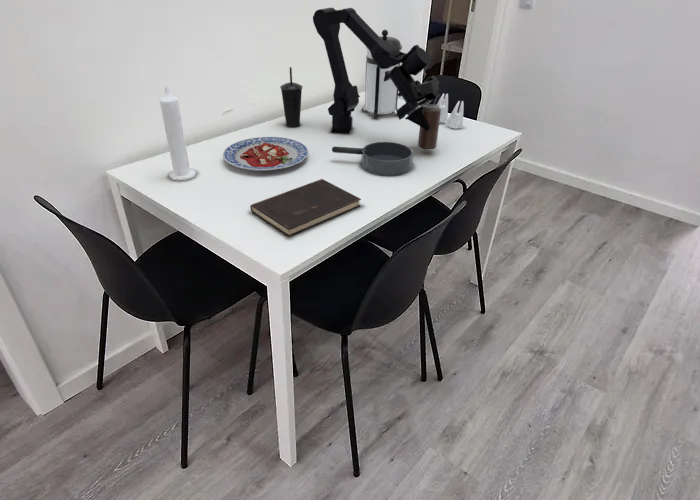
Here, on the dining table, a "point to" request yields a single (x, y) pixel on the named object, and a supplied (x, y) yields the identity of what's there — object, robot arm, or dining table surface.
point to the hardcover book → (305, 207)
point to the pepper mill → (433, 118)
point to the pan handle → (348, 150)
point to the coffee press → (380, 84)
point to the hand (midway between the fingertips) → (433, 127)
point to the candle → (175, 138)
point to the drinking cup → (292, 102)
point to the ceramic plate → (265, 153)
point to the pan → (387, 158)
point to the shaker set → (455, 116)
